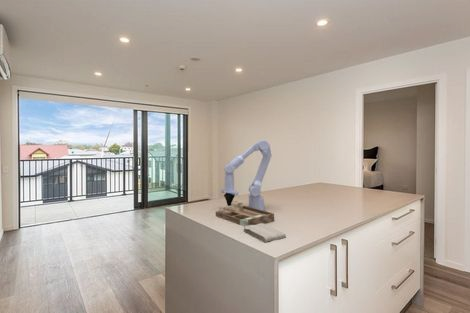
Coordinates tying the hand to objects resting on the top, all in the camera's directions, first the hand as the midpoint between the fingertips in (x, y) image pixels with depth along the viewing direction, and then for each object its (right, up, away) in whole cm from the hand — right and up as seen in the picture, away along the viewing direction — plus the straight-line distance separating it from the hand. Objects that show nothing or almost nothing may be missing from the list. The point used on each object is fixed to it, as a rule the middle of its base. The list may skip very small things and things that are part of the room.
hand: (229, 205), depth 153 cm
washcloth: (+16, -5, -42) cm, 45 cm away
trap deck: (+8, -4, -17) cm, 19 cm away
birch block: (+5, -1, -6) cm, 7 cm away
